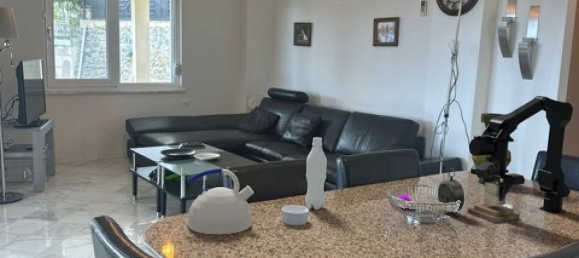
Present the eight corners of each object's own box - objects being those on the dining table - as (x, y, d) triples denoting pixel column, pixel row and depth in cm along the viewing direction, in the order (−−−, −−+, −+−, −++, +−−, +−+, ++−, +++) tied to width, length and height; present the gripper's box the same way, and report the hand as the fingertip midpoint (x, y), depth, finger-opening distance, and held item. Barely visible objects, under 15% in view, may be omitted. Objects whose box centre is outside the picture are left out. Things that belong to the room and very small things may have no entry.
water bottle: (301, 209, 189) (304, 138, 186) (308, 203, 196) (311, 135, 192) (321, 211, 187) (324, 140, 183) (327, 206, 193) (330, 137, 189)
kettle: (253, 235, 161) (254, 176, 159) (182, 235, 160) (183, 175, 157) (253, 215, 181) (254, 162, 179) (190, 214, 180) (190, 161, 177)
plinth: (491, 209, 196) (492, 201, 195) (519, 218, 185) (520, 210, 185) (467, 212, 190) (468, 204, 190) (494, 222, 180) (495, 214, 179)
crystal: (394, 205, 197) (395, 193, 196) (408, 205, 198) (408, 192, 198) (401, 209, 192) (401, 197, 191) (414, 209, 193) (415, 196, 193)
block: (493, 200, 191) (495, 181, 190) (505, 204, 186) (506, 184, 185) (483, 202, 188) (484, 182, 187) (494, 205, 184) (496, 185, 183)
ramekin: (291, 216, 181) (291, 203, 181) (313, 221, 176) (314, 208, 176) (275, 222, 174) (276, 209, 173) (298, 228, 169) (298, 215, 168)
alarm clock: (464, 218, 184) (467, 171, 182) (449, 218, 183) (453, 172, 181) (447, 208, 195) (450, 164, 192) (433, 209, 193) (436, 165, 191)
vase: (472, 186, 229) (478, 115, 225) (467, 177, 245) (472, 111, 240) (513, 188, 226) (520, 117, 222) (505, 180, 242) (510, 113, 238)
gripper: (460, 151, 189) (457, 194, 191) (504, 161, 173) (500, 208, 175) (483, 149, 194) (480, 191, 197) (527, 159, 178) (523, 205, 180)
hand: (494, 198), depth 187 cm, fingers closed on block, 5 cm apart
